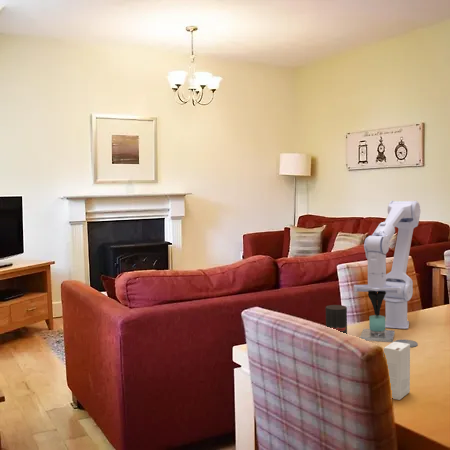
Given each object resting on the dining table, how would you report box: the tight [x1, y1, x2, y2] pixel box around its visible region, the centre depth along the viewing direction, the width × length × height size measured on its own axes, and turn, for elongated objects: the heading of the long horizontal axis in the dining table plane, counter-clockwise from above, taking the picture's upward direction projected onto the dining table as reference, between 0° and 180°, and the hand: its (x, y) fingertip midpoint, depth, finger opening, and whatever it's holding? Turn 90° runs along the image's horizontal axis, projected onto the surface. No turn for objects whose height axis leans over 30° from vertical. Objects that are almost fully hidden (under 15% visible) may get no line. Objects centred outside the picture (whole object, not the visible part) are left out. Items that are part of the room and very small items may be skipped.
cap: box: [368, 314, 386, 331], centre depth 178 cm, size 5×5×5 cm
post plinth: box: [359, 328, 395, 343], centre depth 178 cm, size 10×10×2 cm
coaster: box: [393, 339, 419, 348], centre depth 169 cm, size 7×7×1 cm
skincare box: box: [383, 341, 411, 401], centre depth 130 cm, size 6×4×12 cm
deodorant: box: [325, 304, 348, 335], centre depth 158 cm, size 6×6×15 cm
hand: (377, 314), depth 178 cm, fingers closed
